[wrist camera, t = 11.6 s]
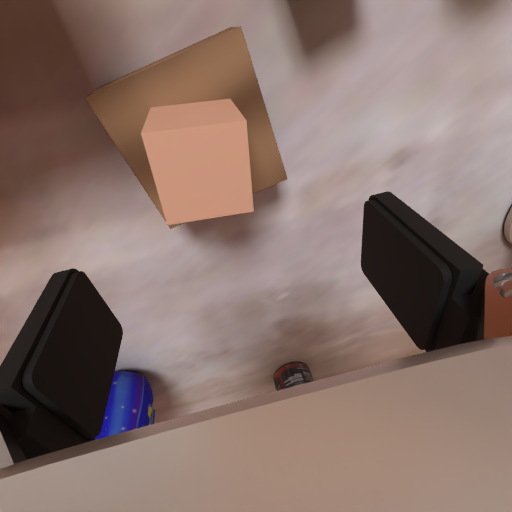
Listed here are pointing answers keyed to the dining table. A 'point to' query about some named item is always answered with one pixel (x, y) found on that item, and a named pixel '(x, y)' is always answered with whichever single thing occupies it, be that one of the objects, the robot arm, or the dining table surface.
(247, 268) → the dining table surface
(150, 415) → the ornament
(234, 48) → the walnut base block
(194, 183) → the terracotta block
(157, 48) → the dining table surface
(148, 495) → the robot arm
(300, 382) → the supplement bottle
